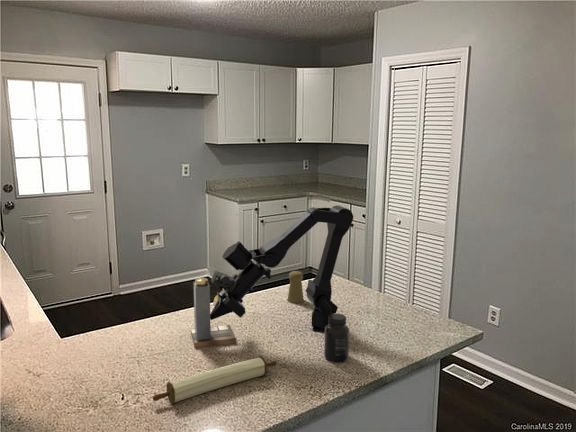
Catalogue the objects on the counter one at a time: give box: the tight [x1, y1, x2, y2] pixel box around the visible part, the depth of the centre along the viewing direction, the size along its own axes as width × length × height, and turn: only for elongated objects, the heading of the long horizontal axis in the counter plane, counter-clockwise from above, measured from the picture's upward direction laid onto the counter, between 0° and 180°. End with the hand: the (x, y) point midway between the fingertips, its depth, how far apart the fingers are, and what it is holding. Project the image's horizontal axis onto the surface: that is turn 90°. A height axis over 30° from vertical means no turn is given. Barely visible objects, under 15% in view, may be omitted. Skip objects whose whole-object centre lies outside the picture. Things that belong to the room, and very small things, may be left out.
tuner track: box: [190, 324, 237, 349], centre depth 142 cm, size 12×10×2 cm
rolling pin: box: [152, 355, 277, 405], centre depth 115 cm, size 32×6×5 cm, turn 121°
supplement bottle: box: [323, 313, 350, 363], centre depth 130 cm, size 7×7×12 cm
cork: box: [286, 270, 305, 305], centre depth 172 cm, size 6×6×11 cm
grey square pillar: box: [193, 277, 211, 340], centre depth 139 cm, size 4×9×17 cm, turn 17°
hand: (210, 318), depth 138 cm, fingers closed, pressing on grey square pillar
